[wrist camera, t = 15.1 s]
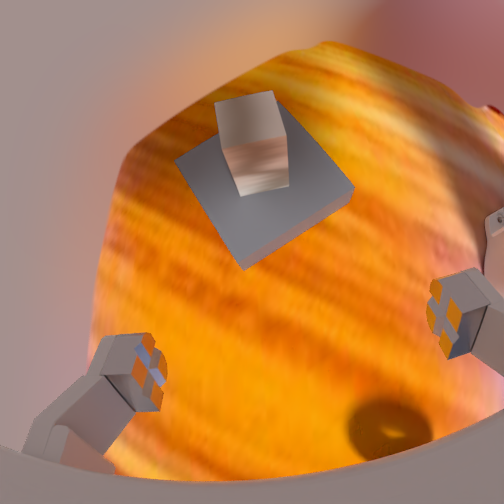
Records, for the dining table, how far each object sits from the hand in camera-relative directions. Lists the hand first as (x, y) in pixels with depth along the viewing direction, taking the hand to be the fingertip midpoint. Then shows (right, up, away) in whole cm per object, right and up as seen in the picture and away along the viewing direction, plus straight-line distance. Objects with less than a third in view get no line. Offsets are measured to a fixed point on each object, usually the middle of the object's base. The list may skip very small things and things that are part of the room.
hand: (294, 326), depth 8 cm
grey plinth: (0, +9, +28) cm, 29 cm away
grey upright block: (0, +10, +24) cm, 26 cm away
